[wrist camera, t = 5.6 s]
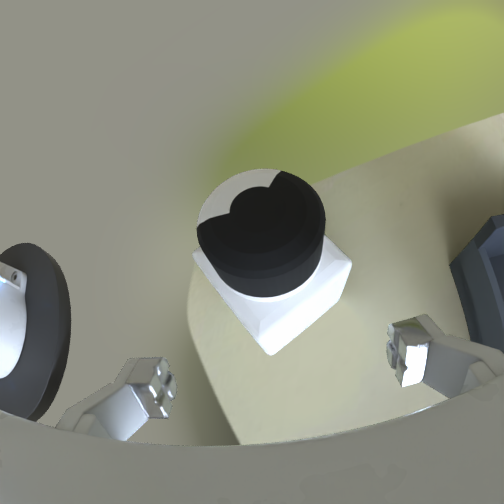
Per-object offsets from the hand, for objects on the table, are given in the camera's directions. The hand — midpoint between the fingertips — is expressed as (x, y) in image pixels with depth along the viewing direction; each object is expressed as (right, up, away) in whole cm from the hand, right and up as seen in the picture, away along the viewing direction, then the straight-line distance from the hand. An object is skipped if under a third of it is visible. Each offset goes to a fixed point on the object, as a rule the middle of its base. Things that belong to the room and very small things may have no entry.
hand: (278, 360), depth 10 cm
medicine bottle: (+1, 0, +14) cm, 14 cm away
